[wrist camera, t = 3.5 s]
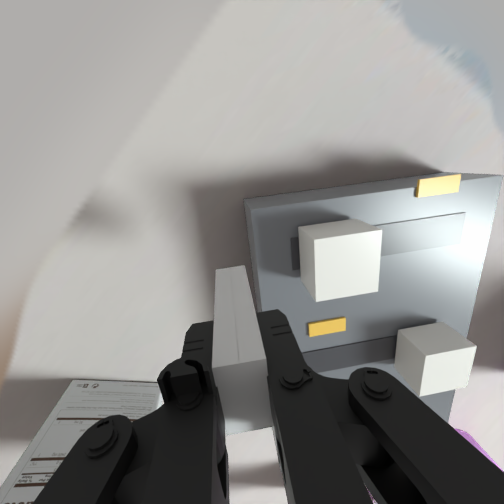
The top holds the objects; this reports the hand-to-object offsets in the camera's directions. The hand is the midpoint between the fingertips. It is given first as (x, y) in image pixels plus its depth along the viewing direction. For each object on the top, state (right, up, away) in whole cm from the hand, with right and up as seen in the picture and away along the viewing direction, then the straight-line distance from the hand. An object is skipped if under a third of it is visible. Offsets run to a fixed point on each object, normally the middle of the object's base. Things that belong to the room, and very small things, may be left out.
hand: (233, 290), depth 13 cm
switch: (+6, +2, +4) cm, 8 cm away
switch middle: (+15, -6, +8) cm, 18 cm away
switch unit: (+11, -5, +13) cm, 18 cm away
